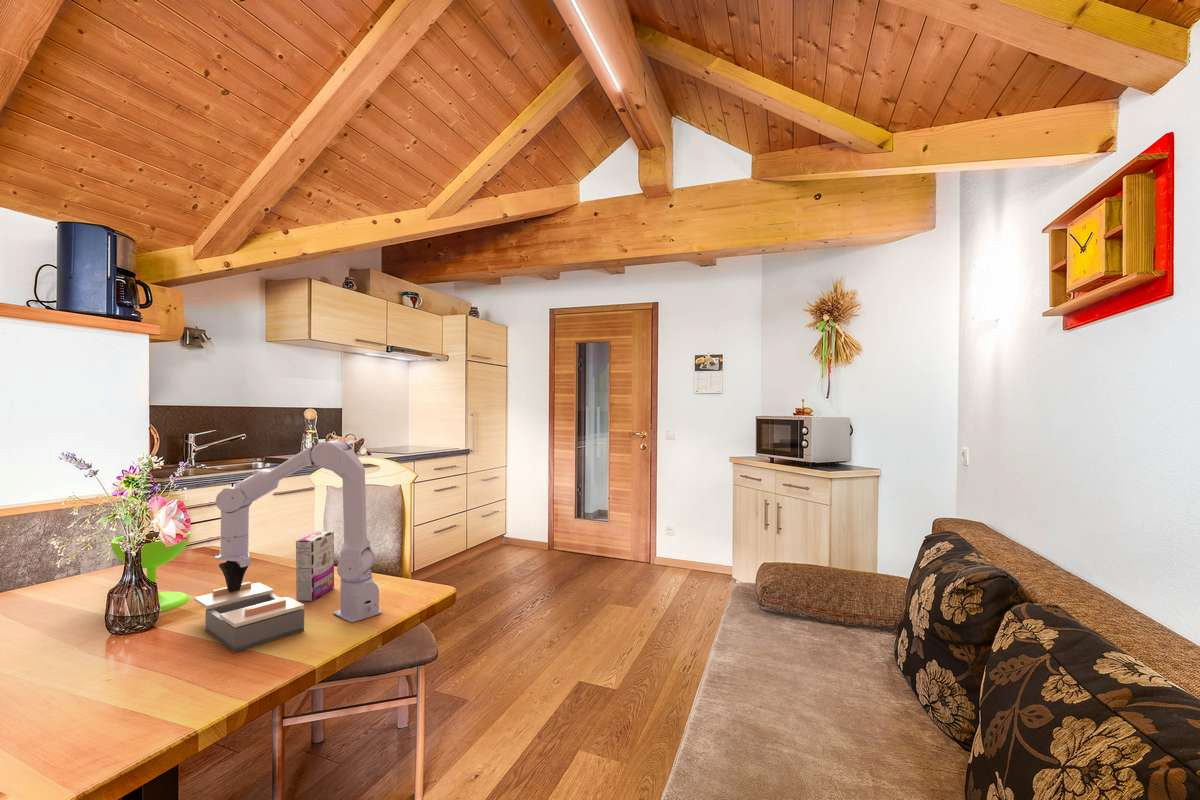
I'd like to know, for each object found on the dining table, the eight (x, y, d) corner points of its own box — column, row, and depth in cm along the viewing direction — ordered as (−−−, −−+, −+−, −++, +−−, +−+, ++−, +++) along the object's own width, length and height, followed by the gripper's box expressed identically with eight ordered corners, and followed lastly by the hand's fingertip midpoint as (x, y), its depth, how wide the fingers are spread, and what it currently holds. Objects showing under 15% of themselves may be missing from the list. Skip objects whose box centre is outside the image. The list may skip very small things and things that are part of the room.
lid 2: (304, 608, 125) (304, 598, 125) (234, 627, 114) (234, 617, 114) (287, 599, 130) (287, 590, 130) (219, 617, 119) (219, 607, 119)
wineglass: (94, 619, 131) (95, 545, 131) (132, 597, 147) (132, 531, 147) (171, 613, 135) (172, 541, 136) (200, 592, 151) (200, 527, 151)
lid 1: (273, 592, 135) (273, 583, 135) (206, 609, 124) (207, 599, 124) (258, 585, 141) (258, 577, 141) (194, 600, 129) (194, 591, 130)
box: (304, 631, 125) (304, 609, 125) (234, 652, 114) (234, 629, 114) (271, 613, 136) (271, 593, 136) (205, 631, 125) (205, 609, 125)
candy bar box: (317, 587, 155) (317, 530, 155) (334, 588, 154) (335, 530, 155) (294, 601, 143) (295, 540, 144) (313, 602, 143) (313, 540, 144)
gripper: (205, 534, 134) (204, 589, 134) (226, 543, 125) (226, 602, 125) (237, 529, 139) (237, 582, 139) (260, 537, 131) (259, 593, 130)
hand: (234, 591), depth 132 cm, fingers closed
